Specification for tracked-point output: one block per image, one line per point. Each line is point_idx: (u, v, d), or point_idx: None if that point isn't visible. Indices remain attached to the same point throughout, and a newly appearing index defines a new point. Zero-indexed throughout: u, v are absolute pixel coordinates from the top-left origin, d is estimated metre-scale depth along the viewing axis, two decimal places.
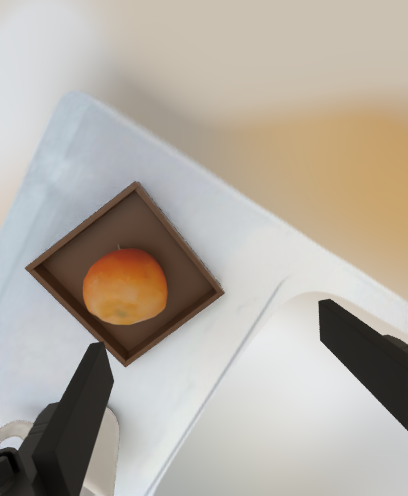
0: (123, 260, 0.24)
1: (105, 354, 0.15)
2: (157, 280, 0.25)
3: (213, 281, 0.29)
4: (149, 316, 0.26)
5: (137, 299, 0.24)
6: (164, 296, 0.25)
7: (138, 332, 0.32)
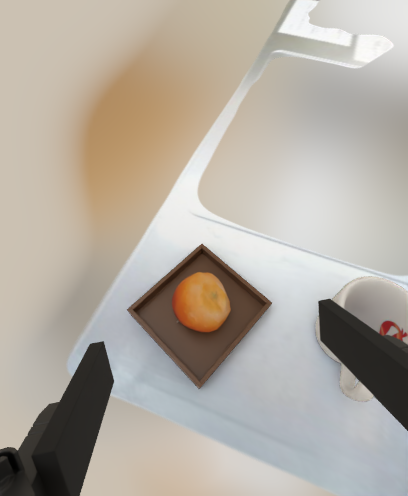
0: (175, 299, 0.34)
1: (105, 354, 0.15)
2: (188, 277, 0.36)
3: (194, 251, 0.42)
4: (216, 280, 0.36)
5: (199, 284, 0.34)
6: (200, 272, 0.37)
7: (245, 301, 0.40)
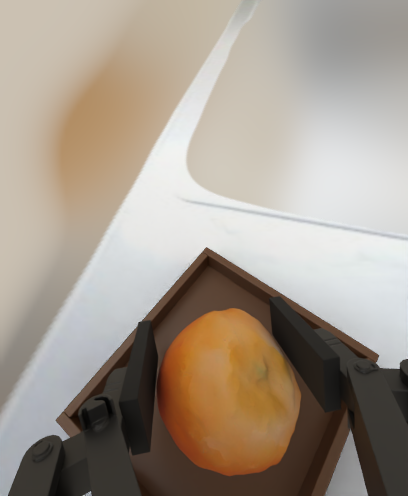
0: (163, 395, 0.13)
1: (152, 331, 0.17)
2: (189, 328, 0.15)
3: (193, 264, 0.21)
4: (256, 325, 0.15)
5: (219, 347, 0.13)
6: (215, 311, 0.16)
7: None
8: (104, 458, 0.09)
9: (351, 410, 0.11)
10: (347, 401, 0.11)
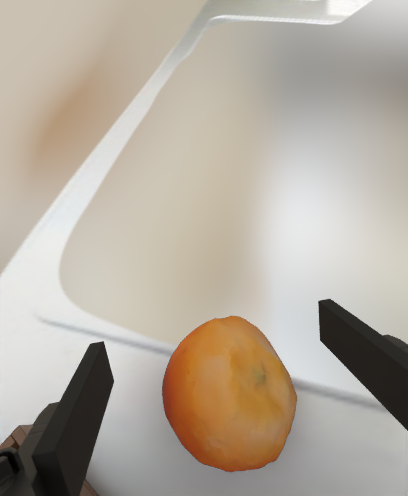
0: (169, 398, 0.14)
1: (105, 354, 0.15)
2: (193, 334, 0.16)
3: None
4: (255, 332, 0.16)
5: (221, 354, 0.14)
6: (217, 319, 0.17)
7: None
8: None
9: None
10: None
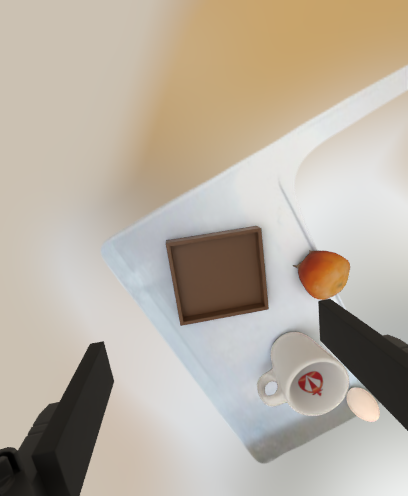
0: (315, 268, 0.41)
1: (105, 354, 0.15)
2: (335, 257, 0.41)
3: (249, 230, 0.42)
4: (348, 272, 0.43)
5: (339, 273, 0.41)
6: (344, 258, 0.42)
7: (253, 290, 0.46)
8: None
9: None
10: None
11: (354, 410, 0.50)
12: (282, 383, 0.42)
